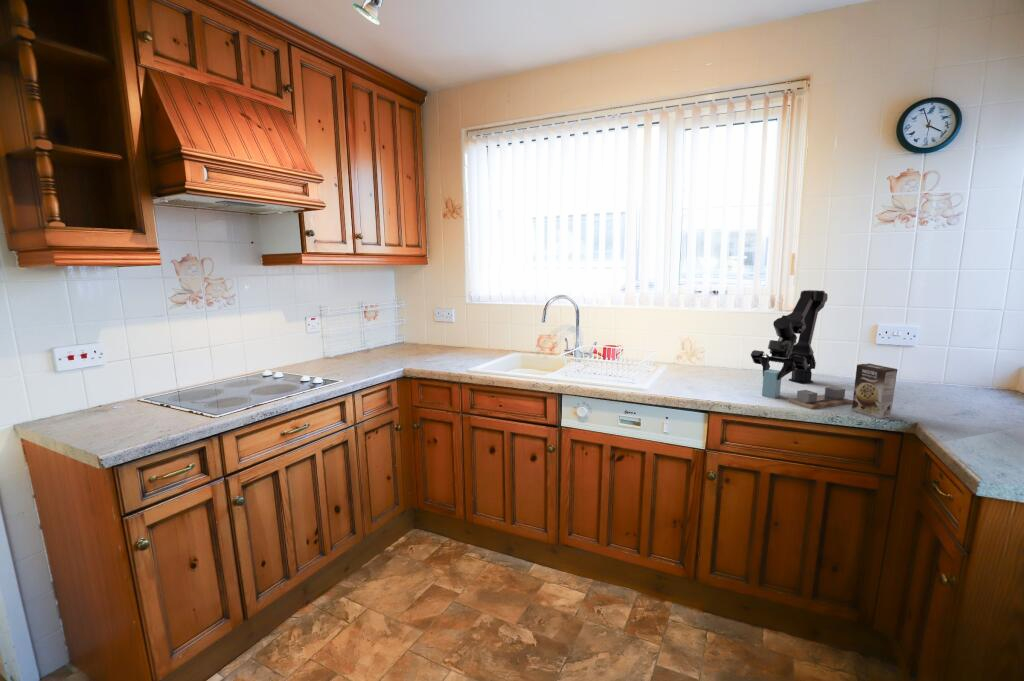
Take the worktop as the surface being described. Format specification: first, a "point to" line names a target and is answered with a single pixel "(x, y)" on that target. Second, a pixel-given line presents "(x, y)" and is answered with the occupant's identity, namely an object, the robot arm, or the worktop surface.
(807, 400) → the mounted modules
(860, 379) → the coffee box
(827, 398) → the rail
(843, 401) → the board
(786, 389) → the worktop surface
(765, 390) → the block
